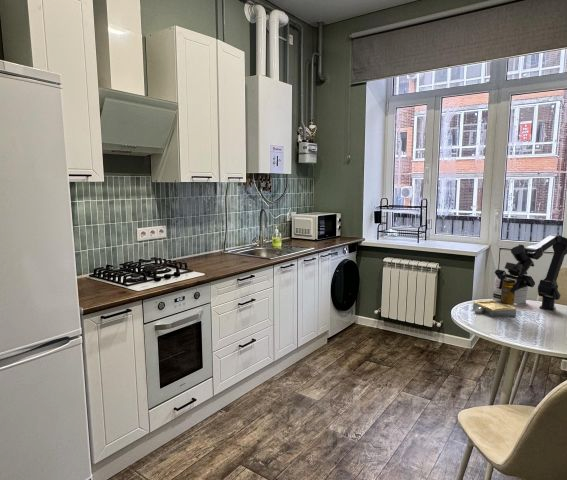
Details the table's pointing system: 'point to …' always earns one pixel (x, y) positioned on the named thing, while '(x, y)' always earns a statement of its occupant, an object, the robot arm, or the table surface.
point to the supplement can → (497, 289)
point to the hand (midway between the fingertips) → (505, 290)
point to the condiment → (507, 293)
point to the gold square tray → (493, 309)
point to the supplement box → (520, 295)
